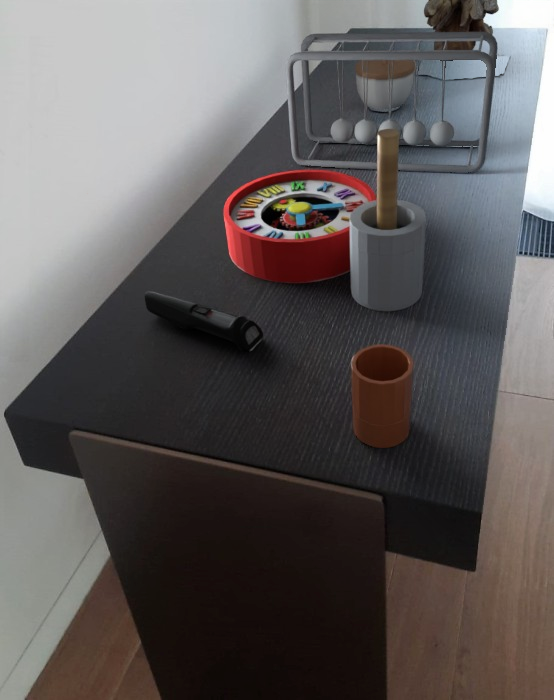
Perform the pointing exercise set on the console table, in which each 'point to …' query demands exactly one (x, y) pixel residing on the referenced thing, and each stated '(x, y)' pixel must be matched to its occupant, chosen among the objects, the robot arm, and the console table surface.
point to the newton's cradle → (413, 129)
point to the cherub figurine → (459, 19)
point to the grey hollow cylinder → (387, 257)
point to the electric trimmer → (205, 319)
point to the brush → (387, 178)
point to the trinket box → (385, 82)
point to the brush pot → (382, 395)
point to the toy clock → (294, 224)
